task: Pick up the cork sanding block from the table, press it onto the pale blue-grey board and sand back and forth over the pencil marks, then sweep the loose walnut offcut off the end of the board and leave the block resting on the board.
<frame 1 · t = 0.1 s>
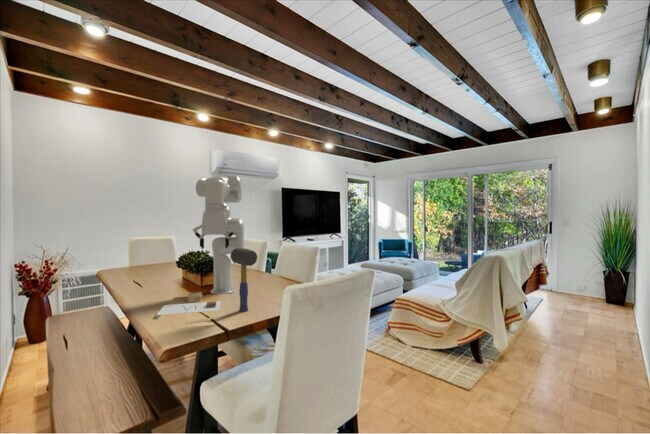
hand: (214, 248, 130), 31 cm above the table, tool pointing down, fingers open, 9 cm apart
walnut offcut: (211, 306, 144), point 1 cm above the table, touching board
rubber mallet: (243, 314, 138), on the table
board: (191, 310, 142), on the table
sanding block: (195, 303, 153), on the table
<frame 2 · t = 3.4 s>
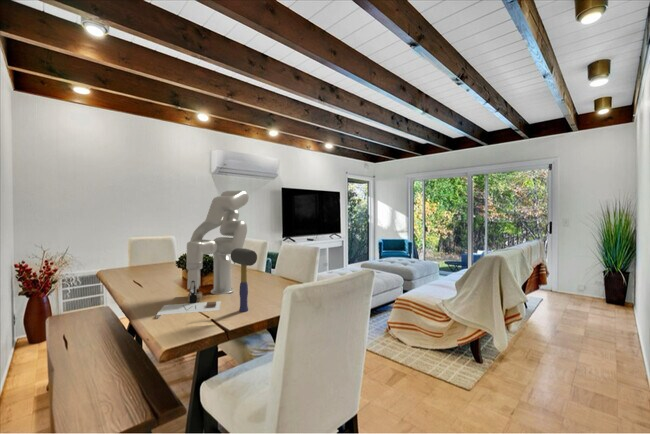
hand: (194, 300, 152), 2 cm above the table, tool pointing down, fingers open, 7 cm apart
nothing on the table moved.
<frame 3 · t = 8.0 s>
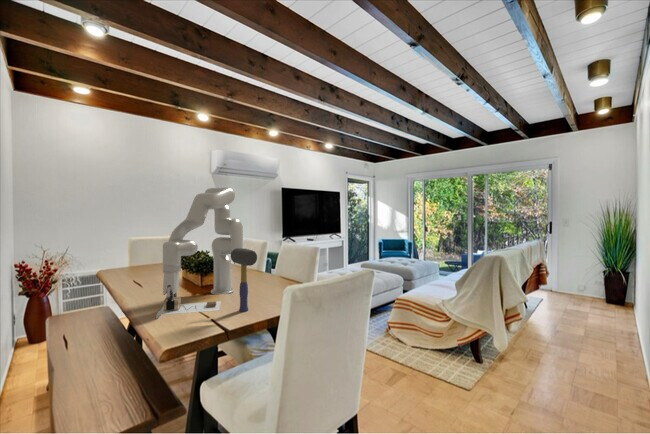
hand: (171, 307, 139), 2 cm above the table, tool pointing down, fingers closed on sanding block, 5 cm apart
sanding block: (172, 309, 140), point 1 cm above the table, touching board, gripper
everything else where it was.
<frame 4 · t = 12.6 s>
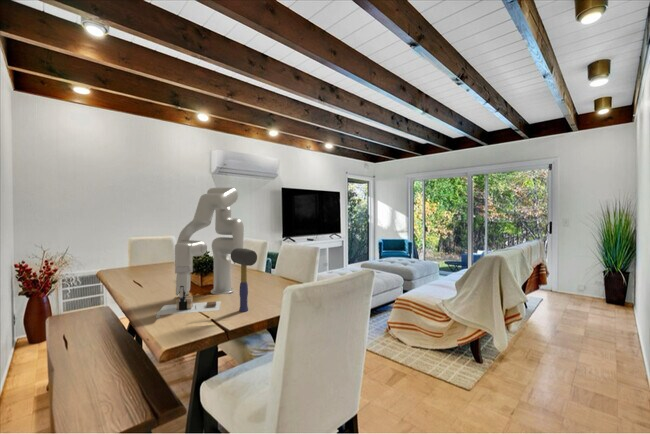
hand: (184, 307, 141), 2 cm above the table, tool pointing down, fingers closed on sanding block, 5 cm apart
sanding block: (184, 308, 141), point 2 cm above the table, touching gripper
everything else where it was.
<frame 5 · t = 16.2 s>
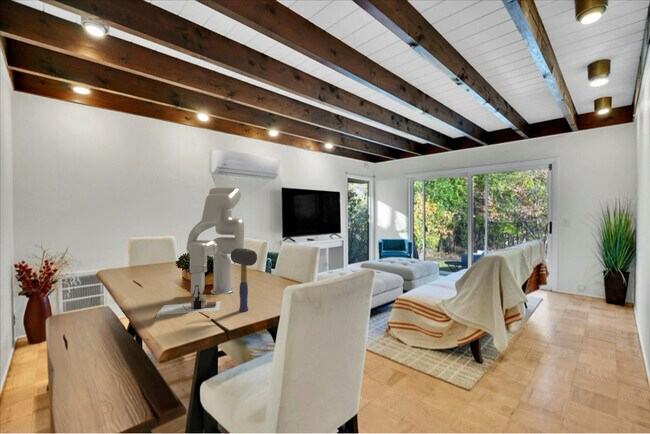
hand: (198, 306, 143), 2 cm above the table, tool pointing down, fingers closed on sanding block, 5 cm apart
sanding block: (198, 306, 143), point 2 cm above the table, touching gripper
everything else where it was.
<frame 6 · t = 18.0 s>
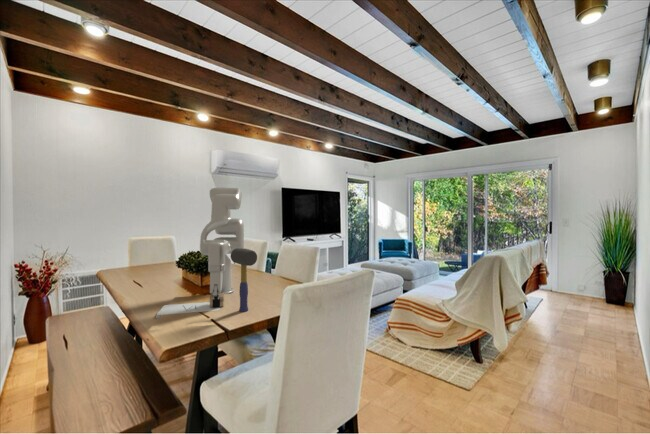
hand: (216, 305, 145), 2 cm above the table, tool pointing down, fingers closed on sanding block, 5 cm apart
walnut offcut: (225, 309, 146), on the table
sanding block: (217, 305, 145), point 2 cm above the table, touching gripper
everything else where it was.
when the fingers open (2 cm above the table, at t = 21.6 s): sanding block stays where it is, resting on board.
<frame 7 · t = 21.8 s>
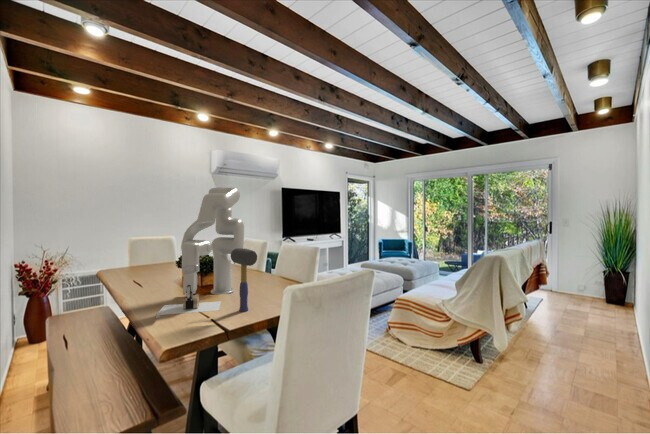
hand: (191, 305, 142), 2 cm above the table, tool pointing down, fingers open, 6 cm apart
sanding block: (191, 307, 142), point 2 cm above the table, touching board
everything else where it was.
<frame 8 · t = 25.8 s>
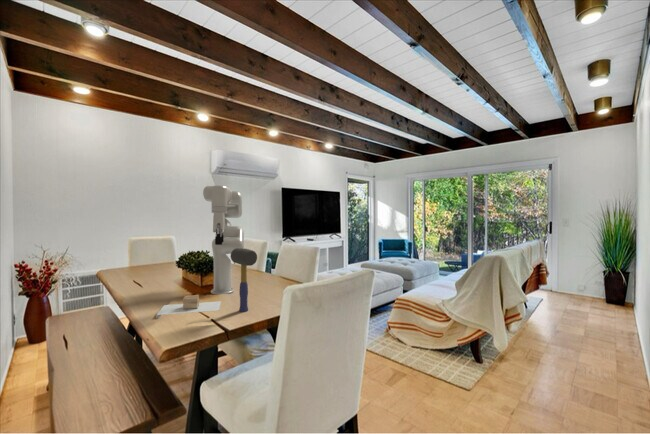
hand: (219, 243, 154), 30 cm above the table, tool pointing down, fingers open, 9 cm apart
nothing on the table moved.
at the end: walnut offcut inside the target area (7.3 cm from its centre), on the table; sanding block inside the target area on the board (0.1 cm from its centre), point 1.5 cm above the board's base; sanding block tilted 0° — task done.
